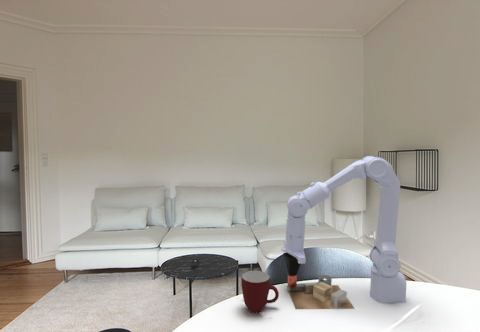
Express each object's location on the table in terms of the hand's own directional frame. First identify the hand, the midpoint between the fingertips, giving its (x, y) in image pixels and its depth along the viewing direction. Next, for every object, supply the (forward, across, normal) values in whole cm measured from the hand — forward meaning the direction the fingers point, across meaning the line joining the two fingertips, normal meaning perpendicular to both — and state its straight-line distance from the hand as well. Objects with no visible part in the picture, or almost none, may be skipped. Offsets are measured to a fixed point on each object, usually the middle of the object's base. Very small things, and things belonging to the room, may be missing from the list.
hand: (292, 276), depth 102 cm
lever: (+4, 0, +6) cm, 7 cm away
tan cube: (+4, +6, +8) cm, 11 cm away
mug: (+6, +8, -12) cm, 16 cm away
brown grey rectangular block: (+5, +10, +11) cm, 16 cm away
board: (+5, +5, +7) cm, 10 cm away
